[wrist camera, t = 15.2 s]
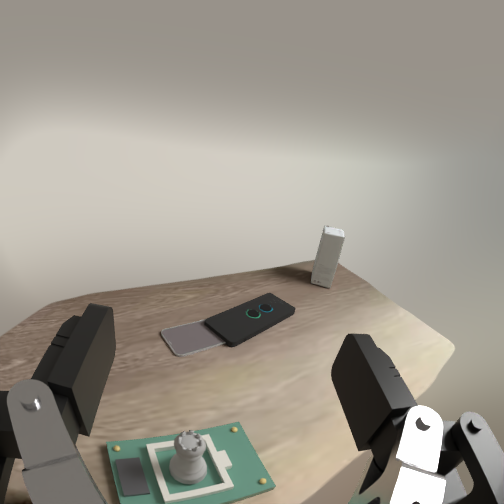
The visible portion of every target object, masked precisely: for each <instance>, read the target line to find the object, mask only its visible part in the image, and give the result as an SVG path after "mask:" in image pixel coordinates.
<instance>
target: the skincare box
mask: <svg viewBox="0 0 504 504" xmlns="http://www.w3.org/2000/svg"><path fill="white" fill-rule="evenodd" d="M344 239H345V235H344V231H343V230H341V229H337V228H333V227H329V226H324V229H323V233H322V237H321V240H320V244H319V248H318V251H317V255H316V259H315V262H314V266H313V270H312V276H311V283H313V284H317V285H320V286H323V287H326V288H330V287H331V284H332V281H333V278H334V274H335V271H336V267H337V264H338V260H339V257H340V253H341V250H342V246H343V243H344Z"/></svg>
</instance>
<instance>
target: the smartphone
mask: <svg viewBox="0 0 504 504" xmlns="http://www.w3.org/2000/svg"><path fill="white" fill-rule="evenodd" d="M205 320H206V319H205ZM205 320H201V321H197V322H193V323H188V324H184V325H180V326H176V327H171V328H167V329H164V330H162V332H161V335H162V337H163V338H164V340H165V341H166V343H167V344H168V346H169V347H170V349H171V350H172V351H173V353H174V354H175V355H176V356H178V357H183V356H187V355H191V354H194V353H197V352H201V351H204V350H207V349H210V348H213V347H216V346H219V345H223V344H225V343H226V342H225V341H224V340H222V339H221V338H220V337H219V336H217V335H216V334H215V333H214V332H212V331H211V330H210V329H209V328H208V327H206V326H205V325H204V323H205Z"/></svg>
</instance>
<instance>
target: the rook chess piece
mask: <svg viewBox="0 0 504 504" xmlns="http://www.w3.org/2000/svg"><path fill="white" fill-rule="evenodd" d="M174 447H175V450H176V454H174V456H173V457H172V458H171V460H170V465H169V470H170V473H171V475H172V476H173V478H174V479H175V480H177V481H179V482H181V483H183V484H189V485H191V484H196V483H199V482H200V481H202V480H203V479H204V478H205V476H206V474H207V465H206V462H205V460H204V458H203V457H202V455H203V453H204V451H205V450H206V443H205V440H204V439H203V438H202V436H201V435H200V434H199V433H198V434H196V433H194V431H192V430H189V432H185V431H183V432H181V434H179V435H177V437H176V438H175V439H174Z"/></svg>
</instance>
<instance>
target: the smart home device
mask: <svg viewBox="0 0 504 504" xmlns="http://www.w3.org/2000/svg"><path fill="white" fill-rule="evenodd" d="M294 312H295V307H293V306H291V305H290V304H288V303H286V302H285V301H283V300H281V299H280V298H278V297H276V296H275V295H273V294H271V293H267V294H265V295H262V296H260V297H258V298H255V299H253V300H251V301H248V302H246V303H243V304H241V305H239V306H236V307H234V308H231V309H229V310H227V311H224V312H222V313H219V314H217V315H214V316H212V317H210V318H207V319H206V320H205V323H204V325H205V326H206V327H208V328H209V329H210V330H211V331H212V332H214V333H215V334H216V335H217V336H219V337H220V338H221V339H222V340H224V341H225V342H226V343H225V344H227V345H228V346H229V347H235V346H237V345H239V344H241V343H243V342H245V341H246V340H248V339H250V338H252V337H254V336H256V335H258V334H259V333H261V332H263V331H265V330H267V329H269V328H270V327H272V326H274V325H276V324H277V323H279V322H281V321H283V320H285V319H286V318H288V317H290V316H292V315H293V314H294Z"/></svg>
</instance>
